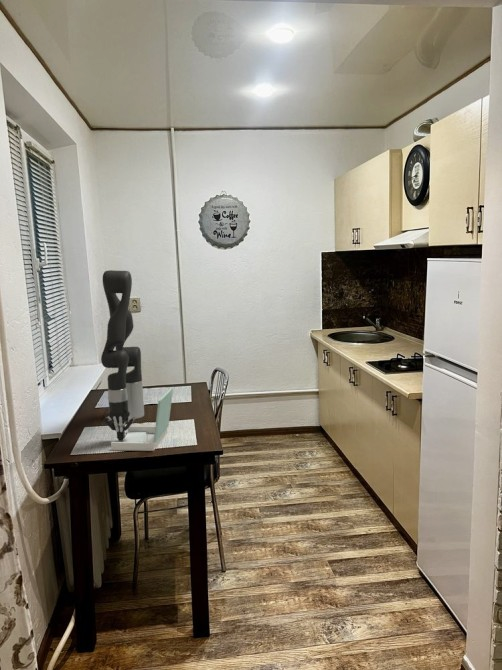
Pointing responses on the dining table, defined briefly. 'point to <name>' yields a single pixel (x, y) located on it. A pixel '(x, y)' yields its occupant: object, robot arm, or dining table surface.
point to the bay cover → (163, 414)
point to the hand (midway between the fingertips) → (121, 439)
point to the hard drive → (135, 437)
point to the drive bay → (139, 445)
